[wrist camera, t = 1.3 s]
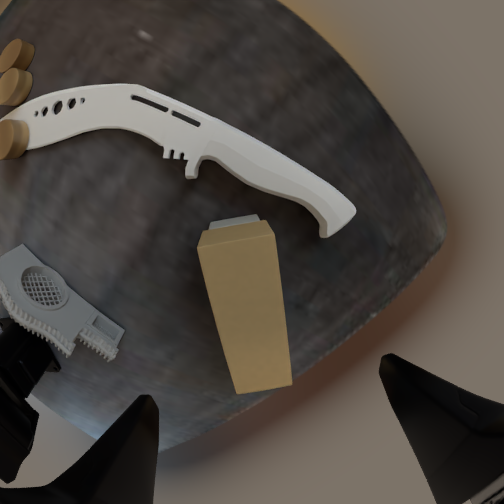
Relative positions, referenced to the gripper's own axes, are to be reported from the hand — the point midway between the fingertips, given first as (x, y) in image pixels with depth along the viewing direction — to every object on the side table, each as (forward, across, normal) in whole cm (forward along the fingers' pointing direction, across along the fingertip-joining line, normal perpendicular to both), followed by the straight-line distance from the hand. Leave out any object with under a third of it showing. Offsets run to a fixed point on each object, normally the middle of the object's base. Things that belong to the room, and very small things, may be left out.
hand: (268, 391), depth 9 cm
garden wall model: (+10, +14, -1) cm, 18 cm away
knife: (+10, +7, -10) cm, 16 cm away
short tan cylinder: (+10, +16, -18) cm, 26 cm away
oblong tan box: (+10, 0, +1) cm, 10 cm away
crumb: (+10, +16, -22) cm, 28 cm away
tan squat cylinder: (+10, +16, -14) cm, 23 cm away
